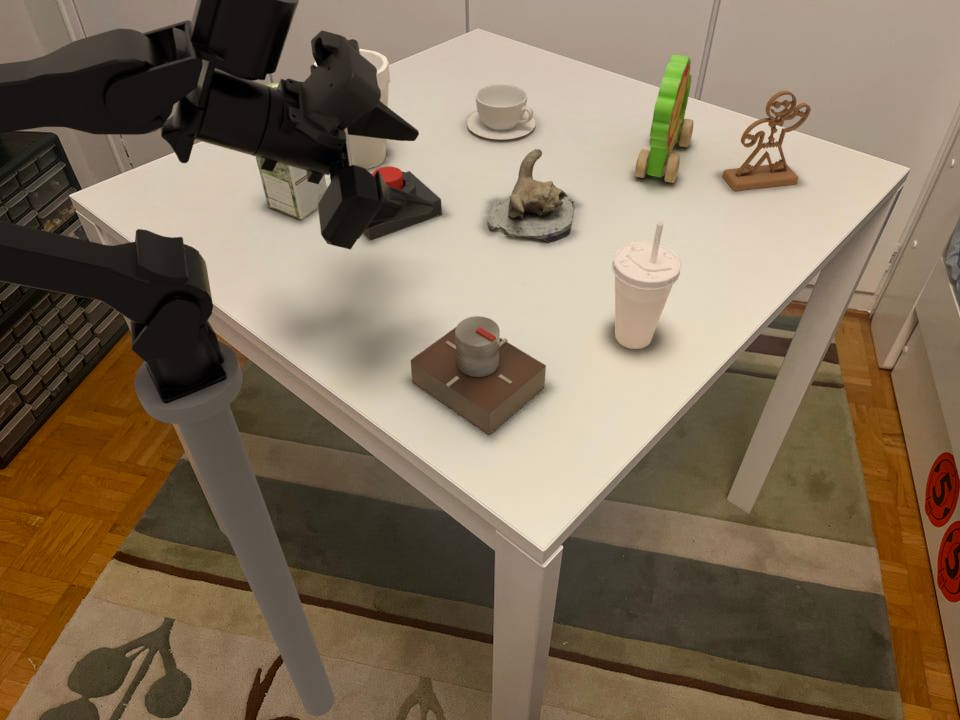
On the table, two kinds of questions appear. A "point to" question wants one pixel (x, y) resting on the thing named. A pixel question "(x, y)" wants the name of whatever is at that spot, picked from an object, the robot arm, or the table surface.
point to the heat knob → (477, 346)
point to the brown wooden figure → (770, 173)
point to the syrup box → (291, 188)
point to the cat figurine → (533, 207)
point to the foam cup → (368, 148)
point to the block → (419, 189)
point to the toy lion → (668, 122)
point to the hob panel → (479, 382)
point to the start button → (391, 176)
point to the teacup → (501, 112)
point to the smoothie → (642, 288)
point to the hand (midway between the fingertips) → (424, 171)
